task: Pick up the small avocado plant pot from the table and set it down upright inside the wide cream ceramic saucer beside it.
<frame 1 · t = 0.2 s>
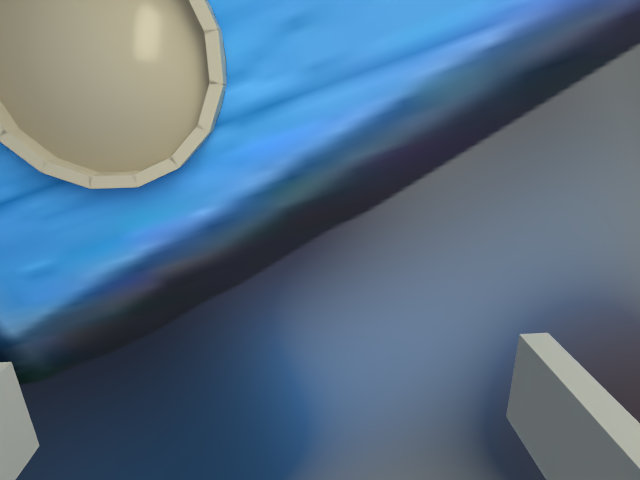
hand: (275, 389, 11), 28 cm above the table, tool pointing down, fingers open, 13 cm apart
saucer: (103, 61, 33), on the table
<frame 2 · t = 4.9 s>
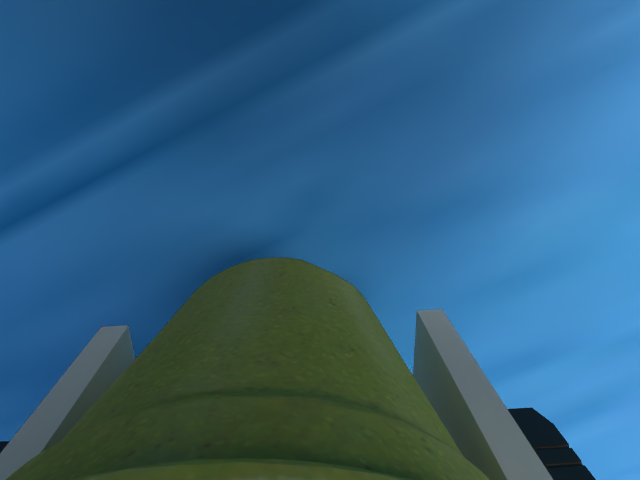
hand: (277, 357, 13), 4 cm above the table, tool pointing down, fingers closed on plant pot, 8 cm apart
plant pot: (276, 344, 13), point 3 cm above the table, touching gripper
when the fingers open (3 cm above the table, at t = 9.9 s): plant pot stays where it is, resting on saucer.
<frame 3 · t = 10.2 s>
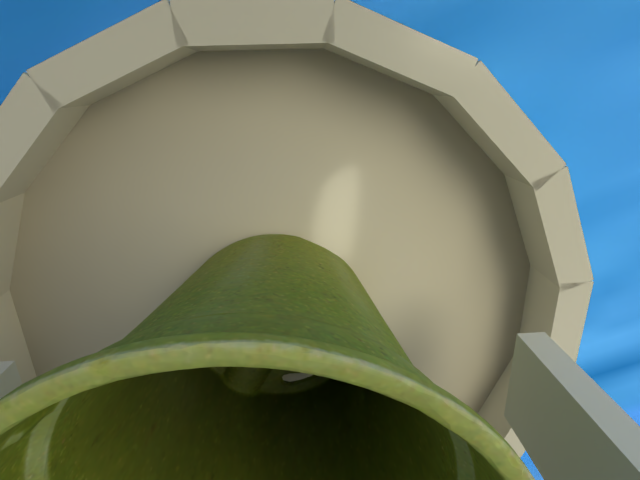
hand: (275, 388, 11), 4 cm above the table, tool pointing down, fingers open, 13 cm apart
saucer: (280, 310, 15), on the table
plant pot: (275, 314, 15), point 1 cm above the table, touching saucer
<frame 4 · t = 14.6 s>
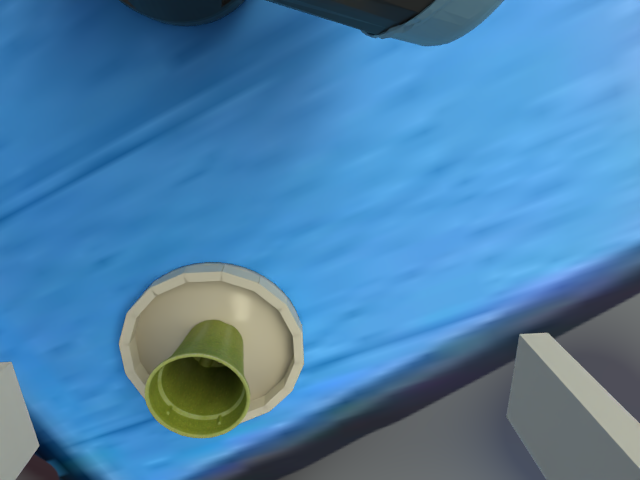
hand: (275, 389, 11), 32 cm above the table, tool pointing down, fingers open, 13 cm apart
saucer: (217, 340, 47), on the table
plant pot: (215, 342, 47), point 1 cm above the table, touching saucer
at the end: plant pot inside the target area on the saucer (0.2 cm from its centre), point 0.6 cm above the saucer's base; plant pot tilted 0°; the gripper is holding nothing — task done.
